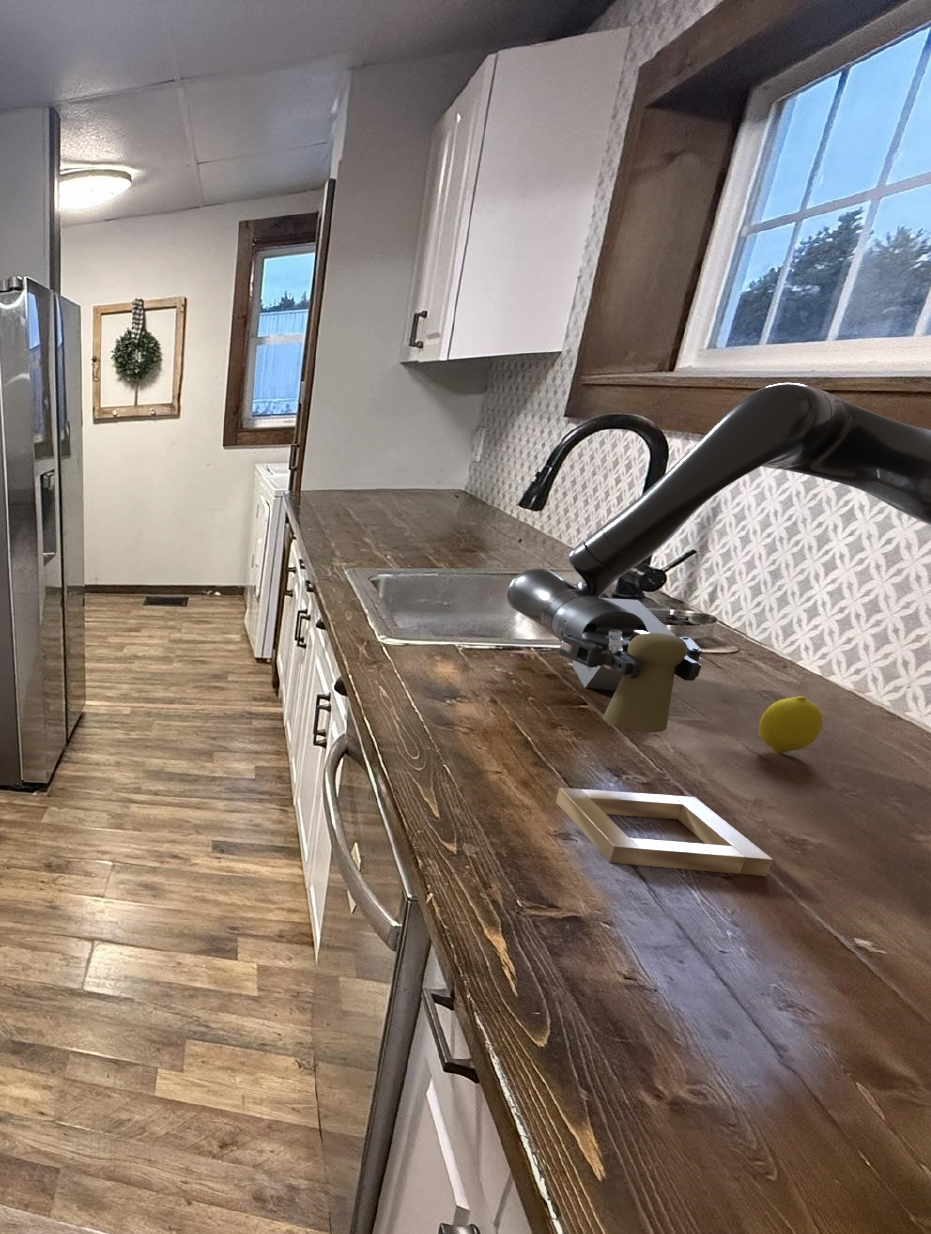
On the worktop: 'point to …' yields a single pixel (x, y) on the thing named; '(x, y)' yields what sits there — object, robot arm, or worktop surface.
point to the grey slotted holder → (612, 678)
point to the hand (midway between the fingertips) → (664, 671)
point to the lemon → (790, 724)
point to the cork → (647, 684)
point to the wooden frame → (716, 855)
